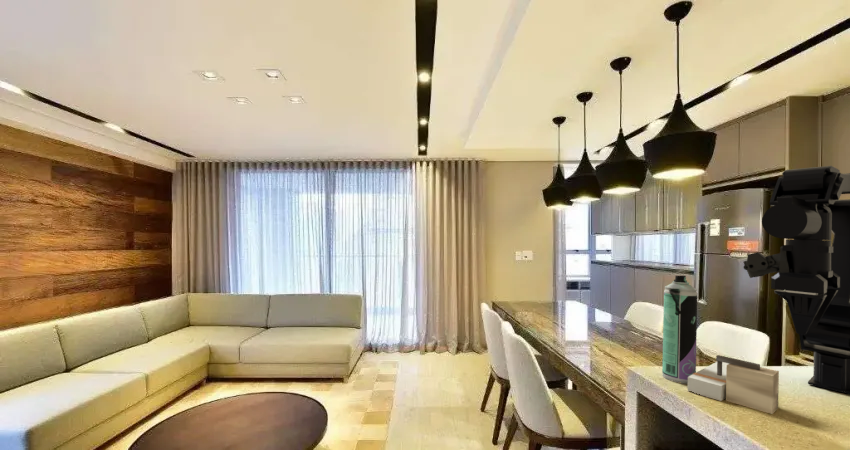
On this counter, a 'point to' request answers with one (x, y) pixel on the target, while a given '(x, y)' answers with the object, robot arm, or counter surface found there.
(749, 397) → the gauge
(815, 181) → the robot arm
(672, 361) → the spray can
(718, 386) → the board
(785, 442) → the counter surface
